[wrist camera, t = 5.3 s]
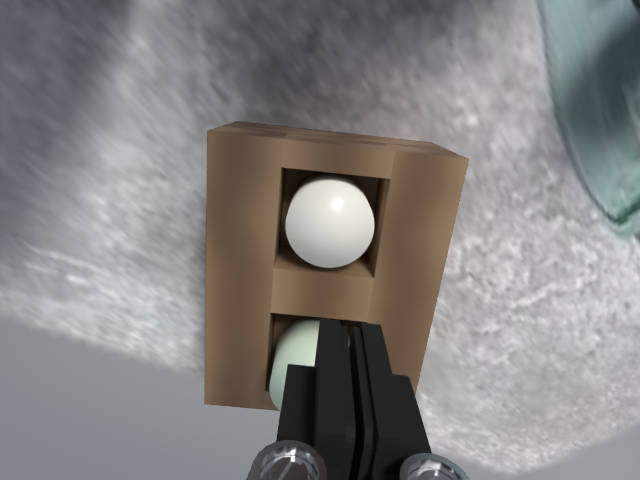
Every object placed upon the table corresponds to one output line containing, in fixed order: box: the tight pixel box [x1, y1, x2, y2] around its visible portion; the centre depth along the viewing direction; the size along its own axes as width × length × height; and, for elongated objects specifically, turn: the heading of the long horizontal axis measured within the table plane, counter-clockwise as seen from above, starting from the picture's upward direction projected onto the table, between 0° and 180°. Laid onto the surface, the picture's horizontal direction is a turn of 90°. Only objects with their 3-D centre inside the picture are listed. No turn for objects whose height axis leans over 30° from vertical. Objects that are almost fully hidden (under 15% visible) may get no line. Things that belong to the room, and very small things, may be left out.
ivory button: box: [286, 171, 374, 268], centre depth 25 cm, size 5×5×4 cm
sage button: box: [269, 316, 350, 412], centre depth 25 cm, size 5×5×4 cm
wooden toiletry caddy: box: [204, 121, 469, 411], centre depth 28 cm, size 14×18×8 cm
